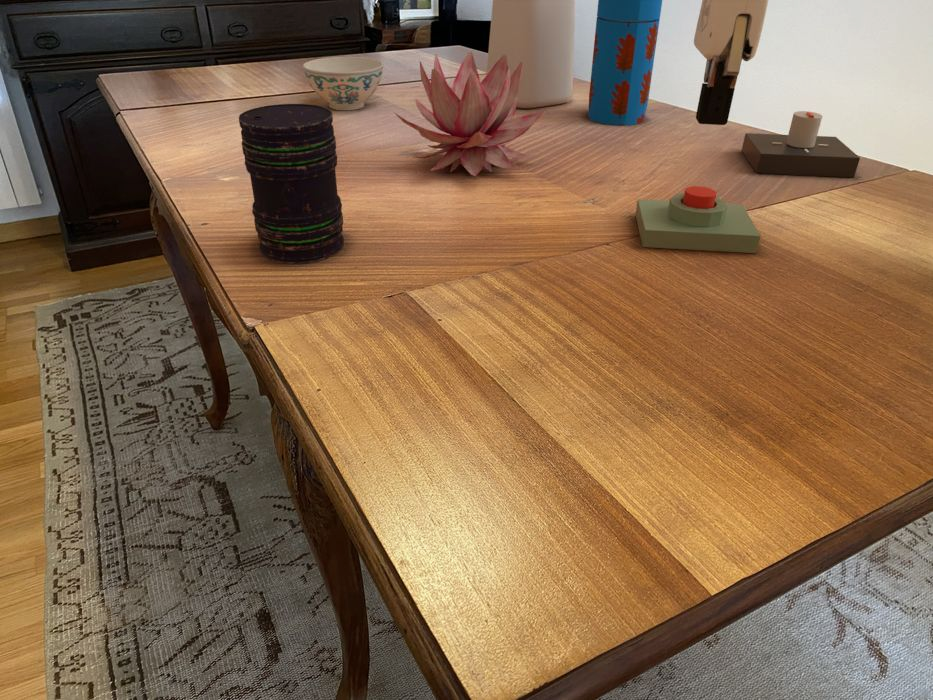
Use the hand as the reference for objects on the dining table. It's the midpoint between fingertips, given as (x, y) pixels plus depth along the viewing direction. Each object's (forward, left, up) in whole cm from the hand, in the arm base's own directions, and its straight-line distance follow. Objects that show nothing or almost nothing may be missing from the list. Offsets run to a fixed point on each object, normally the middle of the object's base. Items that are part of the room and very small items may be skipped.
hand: (710, 122), depth 79 cm
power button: (0, 0, -10) cm, 10 cm away
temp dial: (-20, -30, -10) cm, 38 cm away
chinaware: (+58, -55, -14) cm, 81 cm away
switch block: (0, 0, -13) cm, 13 cm away
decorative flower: (+30, -22, -14) cm, 39 cm away
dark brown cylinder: (+46, +10, -14) cm, 49 cm away
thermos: (+6, -54, -14) cm, 56 cm away
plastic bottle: (+23, -66, -14) cm, 71 cm away
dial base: (-20, -30, -13) cm, 39 cm away
